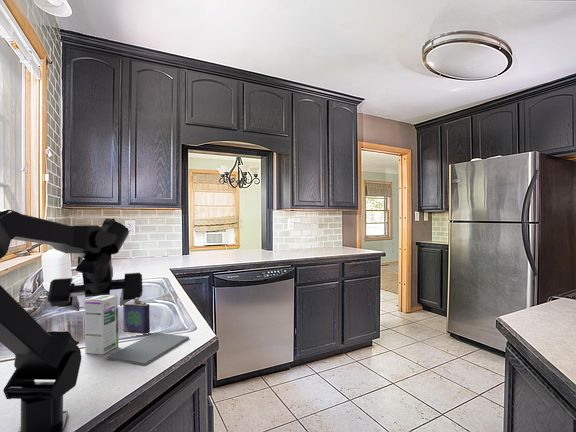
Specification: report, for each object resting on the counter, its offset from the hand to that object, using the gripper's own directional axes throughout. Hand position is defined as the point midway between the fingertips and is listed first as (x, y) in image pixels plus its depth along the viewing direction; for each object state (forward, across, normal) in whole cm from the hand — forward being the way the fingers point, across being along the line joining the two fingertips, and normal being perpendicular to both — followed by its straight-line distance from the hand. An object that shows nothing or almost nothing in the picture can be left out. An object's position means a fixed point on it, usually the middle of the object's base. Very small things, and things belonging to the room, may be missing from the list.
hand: (100, 306), depth 80 cm
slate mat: (+11, -12, +8) cm, 18 cm away
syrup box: (+15, 0, +4) cm, 16 cm away
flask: (+23, -9, -3) cm, 25 cm away
